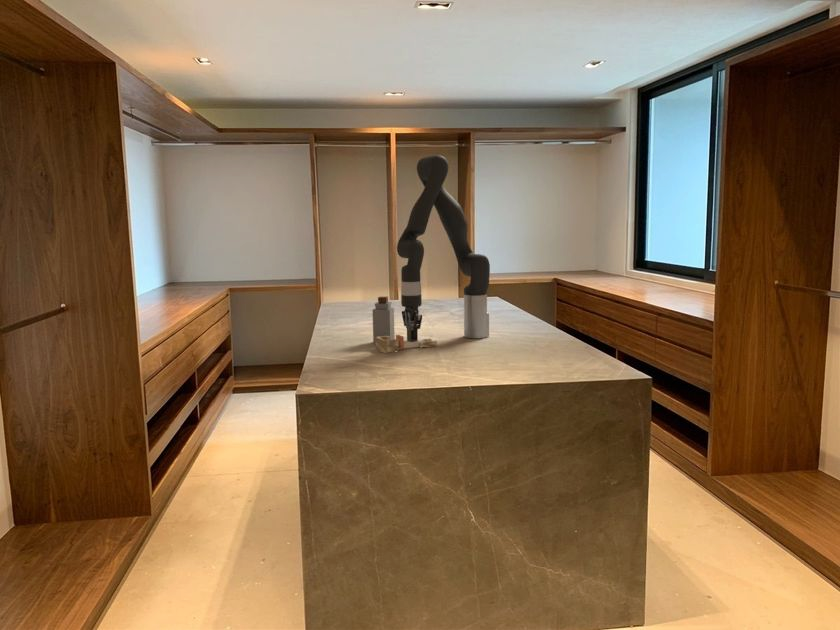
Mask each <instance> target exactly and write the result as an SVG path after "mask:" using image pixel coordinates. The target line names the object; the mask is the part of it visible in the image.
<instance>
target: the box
mask: <svg viewBox="0 0 840 630" xmlns="http://www.w3.org/2000/svg"><path fill="white" fill-rule="evenodd" d="M375 341H376V345H375V349H376V350H377V349H378V351H379V350H380V352H381V351H382V353H383V354H387V353H386V352H391V353H396V352H395V351H400V350H399V345H398V339H396V338H395V340H390V336H381V337H375Z"/></svg>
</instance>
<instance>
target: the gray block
mask: <svg viewBox="0 0 840 630" xmlns="http://www.w3.org/2000/svg"><path fill="white" fill-rule="evenodd" d="M418 331H419V330H417V340H411V325H407V328H406V340H405V338H404V336H402V335H401V334H396V335H395V339H398V345H399V349H400V350H405V349H410V348H419V342H425V340H423V339H424V338H419V337H418V333H419V332H418Z"/></svg>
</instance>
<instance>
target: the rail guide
mask: <svg viewBox="0 0 840 630" xmlns="http://www.w3.org/2000/svg"><path fill="white" fill-rule="evenodd" d="M422 339H423V340H425V342H419V347H420V348H419V347H418V348H419V349H423V348H422V347H426V348H433V346H435V347H438V340H432V338H429V337H428V338H422Z"/></svg>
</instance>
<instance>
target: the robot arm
mask: <svg viewBox="0 0 840 630" xmlns="http://www.w3.org/2000/svg"><path fill="white" fill-rule="evenodd" d="M416 164H417V165H416V172H417V176H418V177H419V180H420V182H421V183H422V185H423V186H424V187H423V188H424V189H423V190H422V192H421V194H420V195H419V197H418V199H417V200H416V202H415V203H414V205H413V206H412V209H411V211H410V214H409V218H408V221H407V225H406V227H405V228H404V230H403V232H402V233H401V236H400V237H399V240H398V241H397V244H396V251H397V255H398V256H399V257H400V258H402V259H408V260H407V264H406V265H405V264H404V265H403V266H402V267H401V269H400V270H401V273H400V274H401V275H400V276H401V280H400V281H401V284H400V285H401V286H400V295H401V296H400V299H401V307H404V310H402V311H401V315H402V320H403V321H402V323H403V325H404V327H405V328H406V329H407V325H411V340H417V331H419V330H421V327H422V326H421V325H422V322H423V321H422V320H423V315H422V314H420V313H419V311H420V310H419V307H422V303H423V301H422V283H421V269H422V265H423V262H424V261H423V259H424V256H425V247H424V244H423V243H422V241H421V240H419V239H418V238H419V237H420V236H422V235H425V232H426V230H427V227H428V223H429V220H430V217H431V212H432V211H433V207H434V208H435V210H436V212H437V214H438V216H439V217H438V218H439V219H440V222H441V224H442V226H443V228H444V231H445V232H446V234H447V237H448V239H449V242H450V244H451V246H452V249H453V251H454V255H455V258H456V260H457V264H458V267H459V270H460V271H461V273H462V274H463V275H464V276H466V277H470V281H469V284H468V285H467V286H465V287H464V288H463V334H464V335H463V336H464V338H466V339H485V338H488V337H490V313H489V312H488V290H489V286H490V277H491V276H490V275H491V273H490V272H491V270H490V269H491V264H490V261H489V258H488V257H487V256H486V255H484V254H479V253H478V254H477V253H474V251H473V250H472V248H471V246H470V243H469V240H468V230H469V229H468V226H469V224H468V221H467V217H466V215H465V212H464V211H463V208H462V206H461V204H460V203H459V202H458V201H457V200H456V199H455V198H454V197H453V196H452V195H451V194H450V193H449V192H448V191H447V190H446V188H445V186H444V182H445V181H446V178H447V175H448V173H449V162H448V160H447V158H446V157H444V156H443V155H440V154H438V155H437V154H436V155H431V156H430V155H429V156H425V157H422V158H420V159H419V160H418V161H417V163H416Z"/></svg>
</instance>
